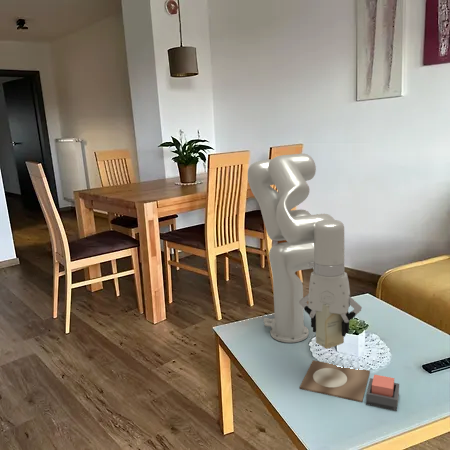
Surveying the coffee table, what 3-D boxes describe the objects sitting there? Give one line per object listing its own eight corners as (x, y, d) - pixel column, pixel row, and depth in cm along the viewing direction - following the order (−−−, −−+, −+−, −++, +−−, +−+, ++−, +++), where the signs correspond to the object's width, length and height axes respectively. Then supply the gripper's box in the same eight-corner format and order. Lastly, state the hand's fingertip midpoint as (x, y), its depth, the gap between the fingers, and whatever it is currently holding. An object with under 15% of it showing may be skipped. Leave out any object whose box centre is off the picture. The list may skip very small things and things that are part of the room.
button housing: (366, 404, 105) (366, 393, 105) (370, 388, 111) (370, 378, 111) (396, 411, 102) (397, 400, 101) (398, 394, 108) (399, 383, 108)
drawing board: (299, 388, 113) (299, 386, 113) (312, 361, 125) (312, 359, 125) (362, 402, 106) (362, 400, 106) (369, 372, 118) (369, 370, 118)
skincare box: (326, 349, 110) (325, 306, 108) (315, 342, 114) (314, 300, 111) (344, 343, 113) (344, 300, 110) (333, 336, 117) (333, 294, 114)
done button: (371, 393, 105) (371, 384, 105) (374, 383, 109) (374, 374, 109) (392, 398, 103) (392, 389, 102) (394, 387, 107) (394, 378, 107)
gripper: (292, 270, 110) (294, 333, 113) (362, 276, 102) (361, 344, 106) (300, 261, 116) (301, 321, 120) (366, 266, 108) (366, 330, 112)
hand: (329, 331), depth 113 cm, fingers closed on skincare box, 7 cm apart
